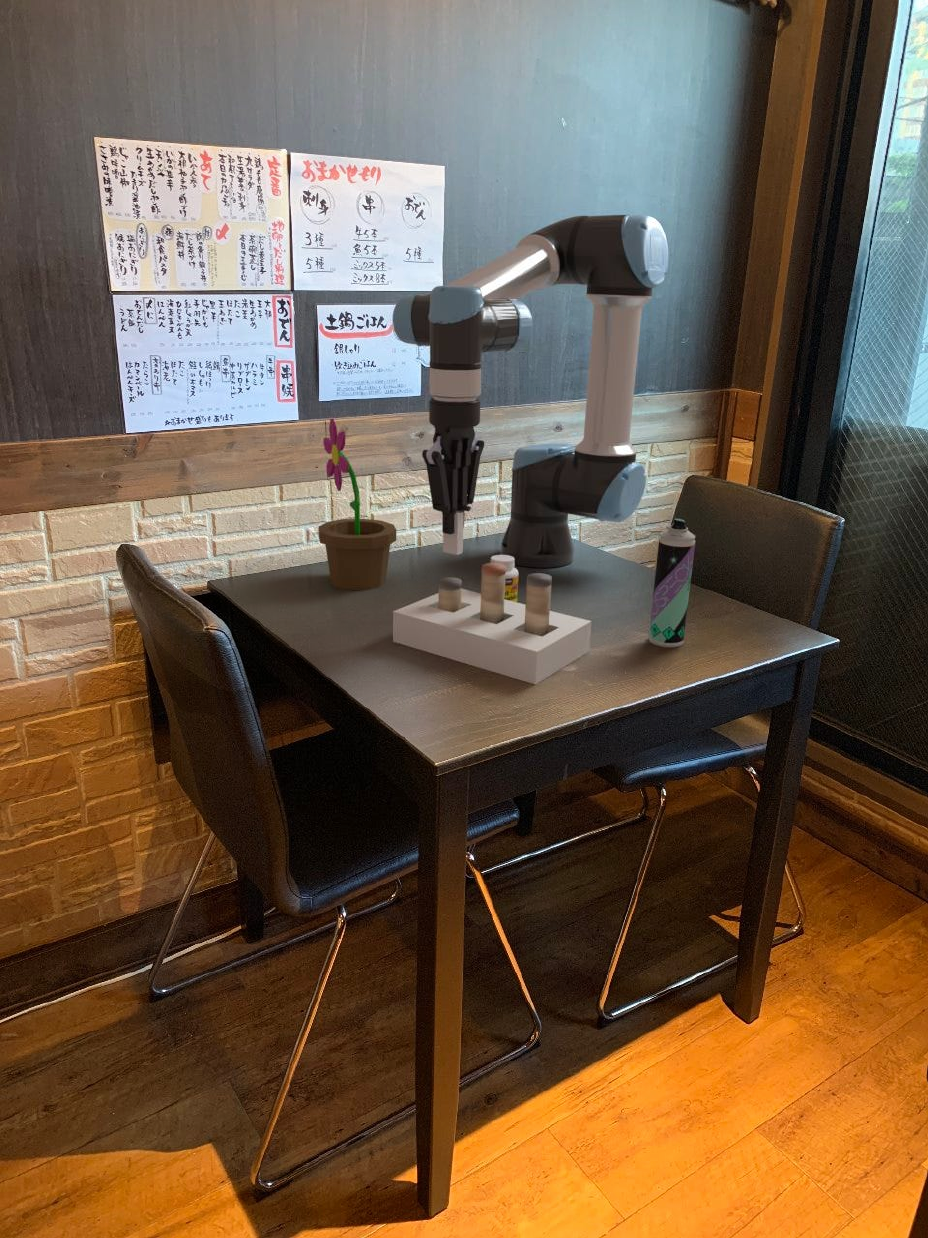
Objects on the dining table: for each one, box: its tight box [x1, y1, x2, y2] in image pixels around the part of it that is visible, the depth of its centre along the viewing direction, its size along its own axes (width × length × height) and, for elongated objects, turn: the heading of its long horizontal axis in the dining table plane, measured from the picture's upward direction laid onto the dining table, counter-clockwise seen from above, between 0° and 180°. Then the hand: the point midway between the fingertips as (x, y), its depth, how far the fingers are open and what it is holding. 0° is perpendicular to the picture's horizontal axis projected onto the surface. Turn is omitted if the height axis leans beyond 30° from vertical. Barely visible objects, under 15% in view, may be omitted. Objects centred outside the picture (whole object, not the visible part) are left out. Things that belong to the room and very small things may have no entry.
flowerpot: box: [318, 418, 397, 591], centre depth 168 cm, size 14×14×30 cm
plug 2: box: [480, 562, 506, 624], centre depth 142 cm, size 4×4×9 cm
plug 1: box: [438, 576, 463, 613], centre depth 147 cm, size 4×4×9 cm
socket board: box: [392, 588, 593, 685], centre depth 144 cm, size 16×26×5 cm, turn 55°
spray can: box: [648, 517, 696, 648], centre depth 146 cm, size 6×6×20 cm
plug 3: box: [524, 572, 553, 637], centre depth 137 cm, size 4×4×9 cm
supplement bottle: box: [490, 554, 519, 603], centre depth 156 cm, size 6×6×10 cm
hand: (452, 552), depth 145 cm, fingers closed
